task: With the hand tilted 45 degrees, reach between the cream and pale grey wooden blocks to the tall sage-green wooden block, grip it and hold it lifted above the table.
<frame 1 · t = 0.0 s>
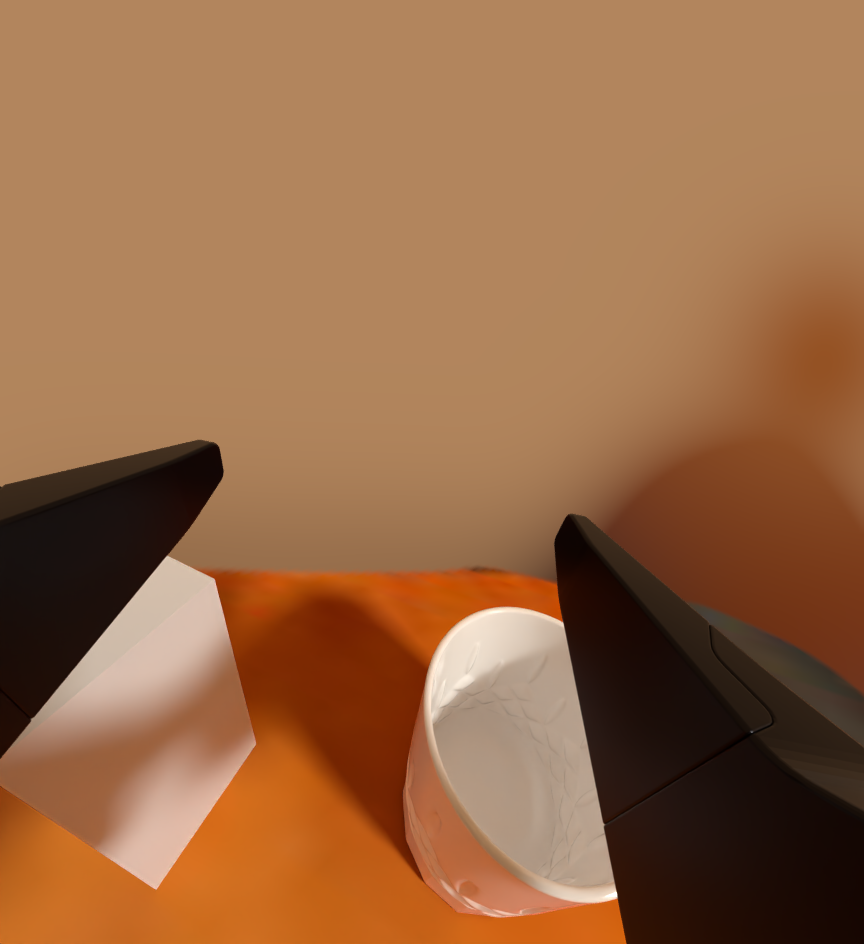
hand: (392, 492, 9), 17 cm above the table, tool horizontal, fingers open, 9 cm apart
grey block: (169, 778, 16), on the table
white cup: (470, 805, 17), on the table
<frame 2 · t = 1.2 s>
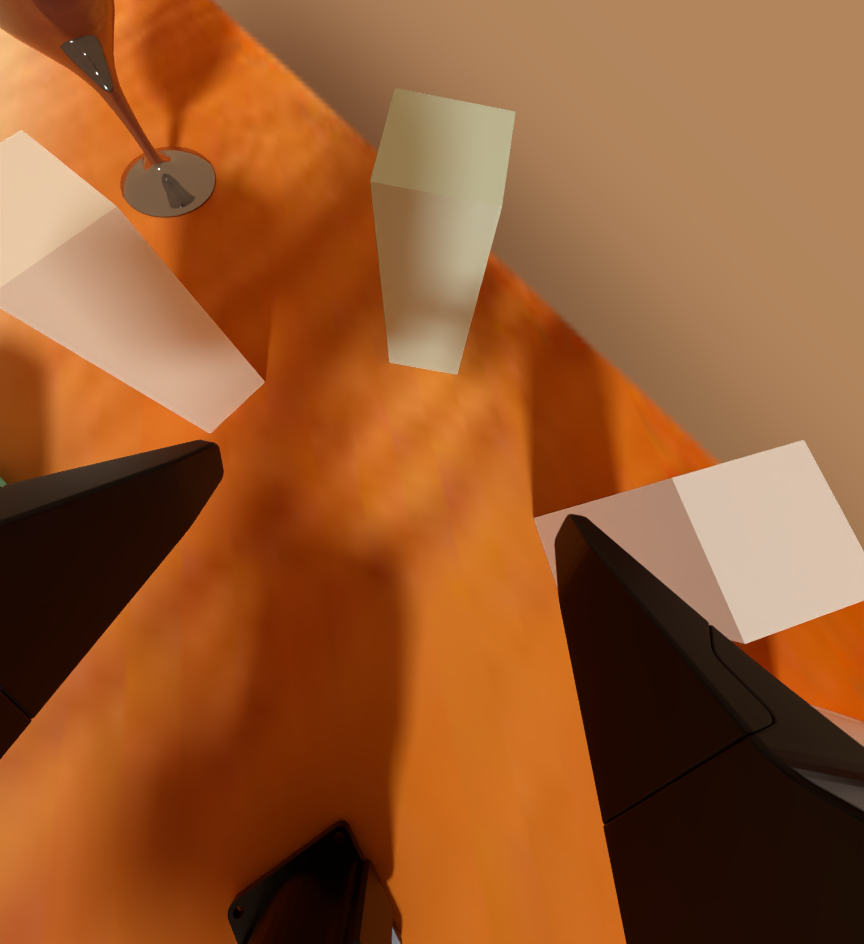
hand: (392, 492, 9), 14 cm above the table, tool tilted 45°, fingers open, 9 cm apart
wine glass: (170, 183, 28), on the table
sage block: (429, 338, 26), on the table
cream block: (212, 385, 24), on the table
grey block: (580, 544, 23), on the table
white cup: (727, 739, 21), on the table
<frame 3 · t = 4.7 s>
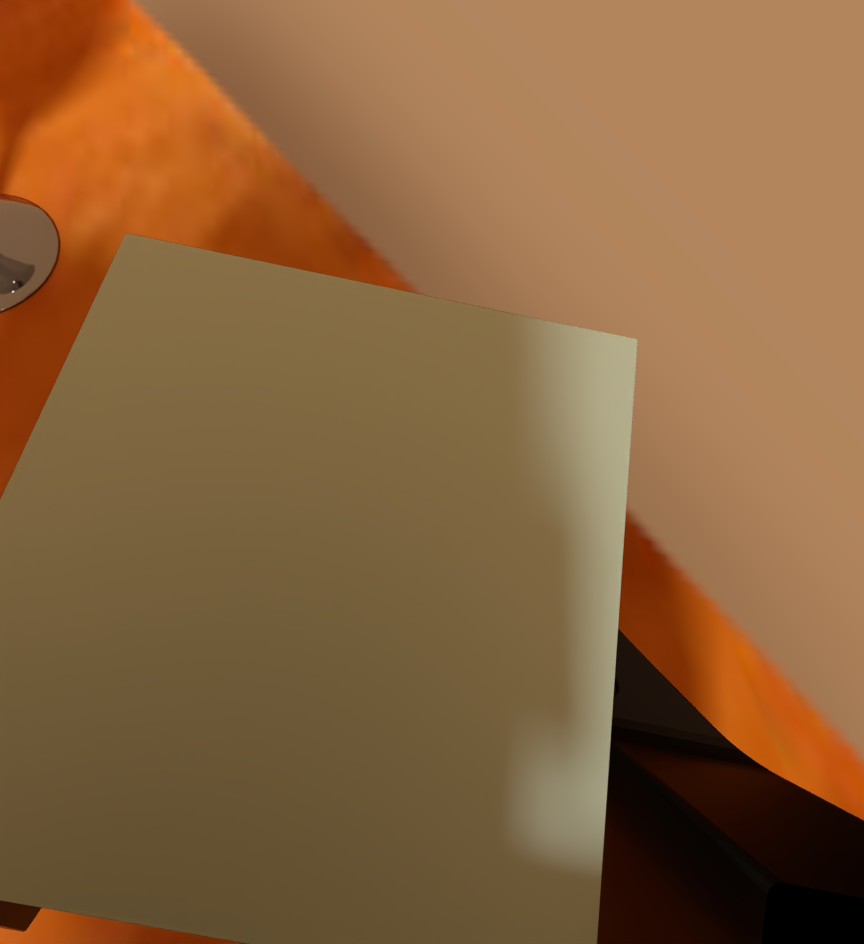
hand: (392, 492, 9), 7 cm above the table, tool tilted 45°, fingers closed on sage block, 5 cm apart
sage block: (394, 546, 15), on the table, touching gripper
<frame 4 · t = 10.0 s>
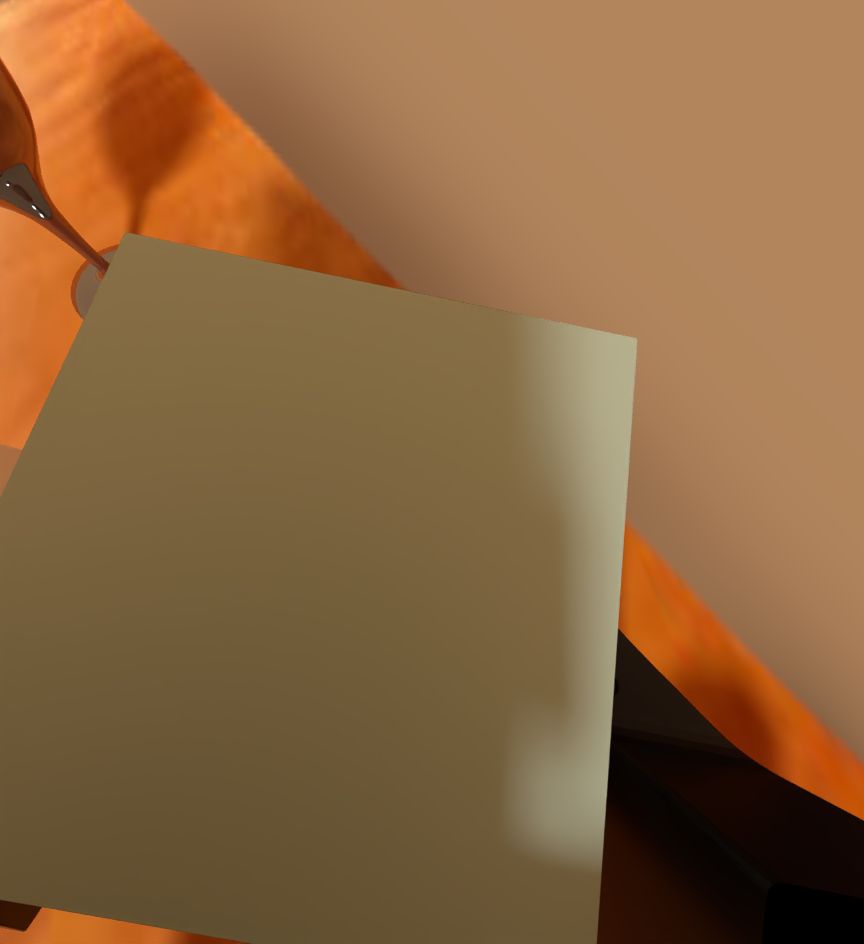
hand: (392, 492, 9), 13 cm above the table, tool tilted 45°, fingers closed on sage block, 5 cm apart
wine glass: (128, 288, 24), on the table
sage block: (394, 546, 15), point 7 cm above the table, touching gripper
cream block: (164, 542, 21), on the table
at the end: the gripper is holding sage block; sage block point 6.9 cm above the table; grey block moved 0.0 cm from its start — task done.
